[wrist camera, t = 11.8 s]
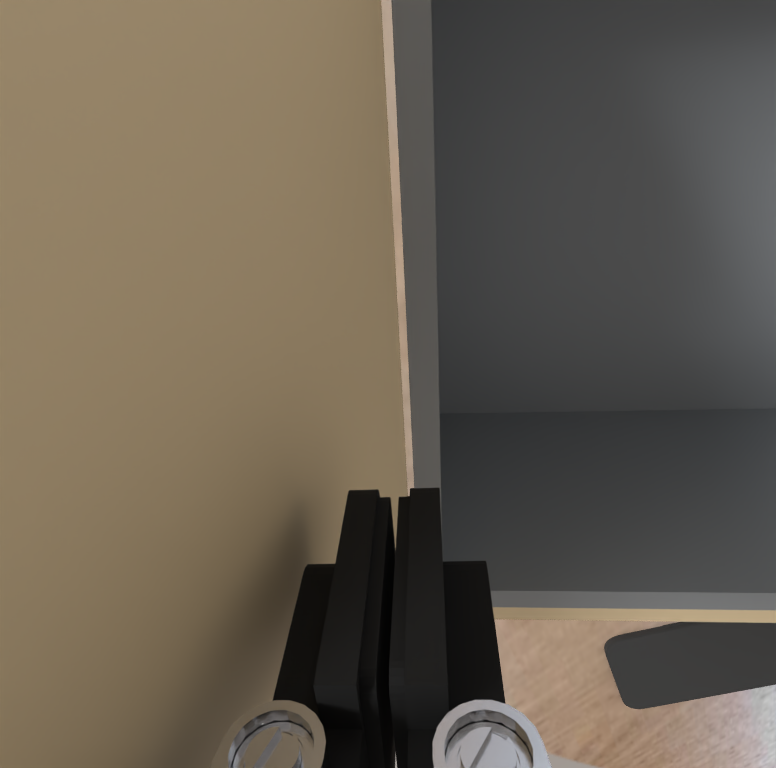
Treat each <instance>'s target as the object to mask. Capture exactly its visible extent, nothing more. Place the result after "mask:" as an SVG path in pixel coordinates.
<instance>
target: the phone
mask: <svg viewBox="0 0 776 768" xmlns="http://www.w3.org/2000/svg"><path fill="white" fill-rule="evenodd" d="M604 649H605V653H606V657H607V660H608V662H609V665H610V668H611V671H612V674H613V676H614V679H615V682H616V684H617V687H618V690H619V693H620V695H621V698H622V700H623V702H624V704H625V705H626V706H628V707H630V708H634V709H645V708H651V707H656V706H661V705H667V704H672V703H678V702H683V701H689V700H694V699H699V698H705V697H710V696H716V695H721V694H726V693H732V692H737V691H743V690H748V689H753V688H759V687H764V686H770V685H775V684H776V623H747V622H678V623H673V624H668V625H663V626H661V627H656V628H651V629H646V630H641V631H636V632H631V633H627V634H622V635H618V636H615V637H613V638H611V639H609V640H608V641H607V642H606V644H605V647H604Z"/></svg>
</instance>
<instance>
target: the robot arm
mask: <svg viewBox="0 0 776 768" xmlns="http://www.w3.org/2000/svg"><path fill="white" fill-rule="evenodd" d="M395 751H396V759H397V767H398V768H552V767H551V764H550V761H549V758H548V755H547V752H546V749H545V746H544V743H543V741H542V739H541V737H540V735H539V733H538V731H537V729H536V727H535V726H534V725H533V724H532V723H531V722H530V721H529V720H528V718H527V717H526V716H525V715H524V714H523V713H521V712H519V711H518V710H516V709H515V708H513V707H511V706H510V705H508V704H505V697H504V690H503V682H502V674H501V667H500V659H499V652H498V644H497V637H496V629H495V622H494V614H493V607H492V599H491V591H490V584H489V576H488V569H487V563H486V561H443V554H442V531H441V509H440V488H410V496H406V497H399V500H398V517H397V534H396V551H395V539H394V528H393V517H392V506H391V498H390V497H380V493H379V490H378V489H373V490H349V491H348V495H347V501H346V506H345V512H344V517H343V523H342V529H341V534H340V540H339V545H338V551H337V556H336V562H335V564H307V566H306V567H305V569H304V572H303V576H302V580H301V584H300V588H299V593H298V597H297V601H296V605H295V609H294V613H293V617H292V622H291V626H290V630H289V634H288V638H287V642H286V647H285V651H284V655H283V659H282V663H281V667H280V671H279V676H278V680H277V684H276V688H275V692H274V696H273V701H271V702H267V703H264V704H260V705H258V706H256V707H254V708H253V709H251V710H249V711H248V712H246V713H244V714H243V715H242V716H241V717H240V718H239V719H238V720H237V721H236V722H235V723H234V724H233V725H232V726H231V727H230V728H229V730H228V731H227V733H226V735H225V736H224V738H223V739H222V741H221V743H220V745H219V747H218V750H217V752H216V754H215V756H214V758H213V761H212V763H211V765H210V767H209V768H395Z"/></svg>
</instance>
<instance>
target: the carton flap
mask: <svg viewBox="0 0 776 768" xmlns="http://www.w3.org/2000/svg"><path fill="white" fill-rule="evenodd" d="M373 489H378V490H379V493H380V497H390V498H391V506H392V517H393V528H394V539H395V551H396V534H397V517H398V500H399V497H406V496H408V491H407V472H406V454H405V435H404V417H403V398H402V380H401V361H400V343H399V324H398V306H397V287H396V269H395V250H394V232H393V213H392V195H391V176H390V158H389V139H388V121H387V102H386V84H385V65H384V47H383V28H382V10H381V0H0V768H209V767H210V765H211V763H212V761H213V758H214V756H215V754H216V752H217V750H218V747H219V745H220V743H221V741H222V739H223V738H224V736H225V735H226V733H227V731H228V730H229V728H230V727H231V726H232V725H233V724H234V723H235V722H236V721H237V720H238V719H239V718H240V717H241V716H242V715H243V714H244V713H246V712H248V711H249V710H251V709H253V708H254V707H256V706H258V705H260V704H264V703H267V702H271V701H273V696H274V692H275V688H276V684H277V680H278V676H279V671H280V667H281V663H282V659H283V655H284V651H285V647H286V642H287V638H288V634H289V630H290V626H291V622H292V617H293V613H294V609H295V605H296V601H297V597H298V593H299V588H300V584H301V580H302V576H303V572H304V569H305V567H306V566H307V564H335V562H336V556H337V551H338V545H339V540H340V534H341V529H342V523H343V517H344V512H345V506H346V501H347V495H348V491H349V490H373Z"/></svg>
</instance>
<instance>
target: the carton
mask: <svg viewBox="0 0 776 768" xmlns="http://www.w3.org/2000/svg"><path fill="white" fill-rule="evenodd" d="M392 21H393V42H394V63H395V85H396V106H397V127H398V149H399V170H400V191H401V213H402V234H403V255H404V277H405V298H406V319H407V341H408V362H409V383H410V405H411V426H412V447H413V469H414V488H440V509H441V531H442V554H443V561H486V563H487V569H488V576H489V584H490V591H491V599H492V607H493V614H494V619H514V620H592V621H670V622H747V623H776V0H392Z"/></svg>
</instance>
